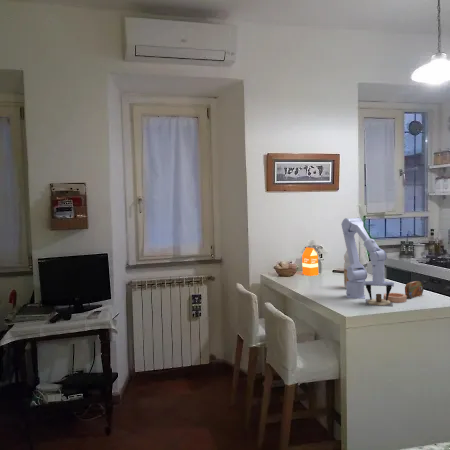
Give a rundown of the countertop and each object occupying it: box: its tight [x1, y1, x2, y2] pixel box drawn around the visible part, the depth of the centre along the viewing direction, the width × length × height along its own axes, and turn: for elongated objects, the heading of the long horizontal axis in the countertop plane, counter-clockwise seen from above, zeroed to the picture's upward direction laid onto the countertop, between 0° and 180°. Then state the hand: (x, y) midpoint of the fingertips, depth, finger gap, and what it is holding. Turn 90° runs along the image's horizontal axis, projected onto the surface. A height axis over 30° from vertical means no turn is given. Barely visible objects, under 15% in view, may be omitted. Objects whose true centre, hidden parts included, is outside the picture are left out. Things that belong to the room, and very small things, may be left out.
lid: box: [368, 293, 390, 305], centre depth 208 cm, size 11×11×4 cm
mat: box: [365, 298, 394, 308], centre depth 208 cm, size 13×13×1 cm
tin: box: [404, 280, 424, 299], centre depth 219 cm, size 15×3×8 cm, turn 126°
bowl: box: [383, 292, 408, 304], centre depth 213 cm, size 11×11×3 cm
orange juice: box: [301, 247, 319, 277], centre depth 299 cm, size 8×9×20 cm
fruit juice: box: [343, 250, 360, 290], centre depth 246 cm, size 9×9×28 cm
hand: (378, 299), depth 208 cm, fingers open, 7 cm apart
